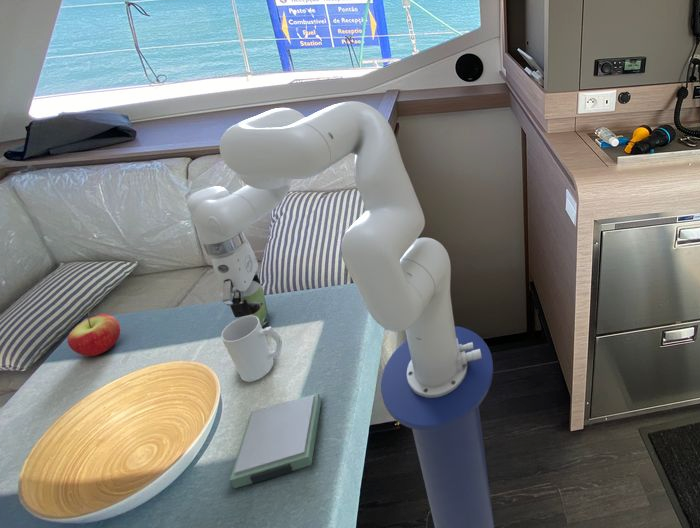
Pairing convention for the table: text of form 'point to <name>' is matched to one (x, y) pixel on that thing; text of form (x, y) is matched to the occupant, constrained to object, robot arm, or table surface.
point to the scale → (277, 441)
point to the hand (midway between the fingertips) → (249, 301)
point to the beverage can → (255, 302)
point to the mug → (250, 347)
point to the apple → (94, 335)
